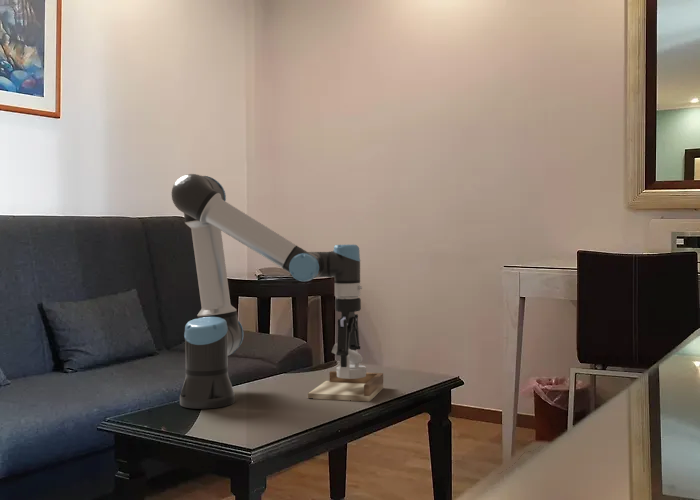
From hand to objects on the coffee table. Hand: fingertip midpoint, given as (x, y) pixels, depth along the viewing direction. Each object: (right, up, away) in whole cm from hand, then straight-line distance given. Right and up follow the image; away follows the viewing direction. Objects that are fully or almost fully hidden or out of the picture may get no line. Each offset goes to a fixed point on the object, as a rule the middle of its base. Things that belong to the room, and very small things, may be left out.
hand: (349, 374), depth 220 cm
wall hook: (0, 0, 0) cm, 0 cm away
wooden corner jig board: (-1, -6, +1) cm, 6 cm away
